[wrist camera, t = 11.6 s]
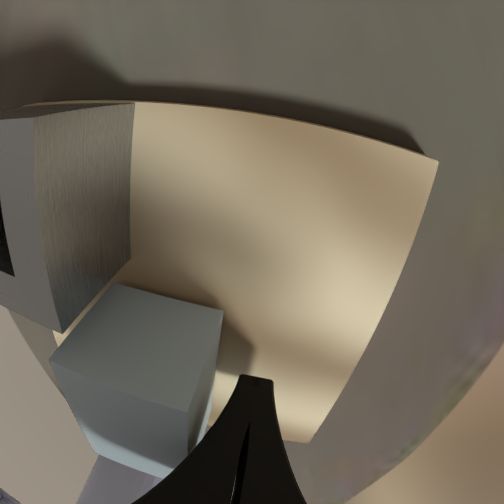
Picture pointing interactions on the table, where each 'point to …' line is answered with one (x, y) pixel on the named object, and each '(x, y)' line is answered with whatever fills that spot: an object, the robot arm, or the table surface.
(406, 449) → the table surface
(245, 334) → the plate
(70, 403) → the block
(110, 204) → the block
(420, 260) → the table surface
